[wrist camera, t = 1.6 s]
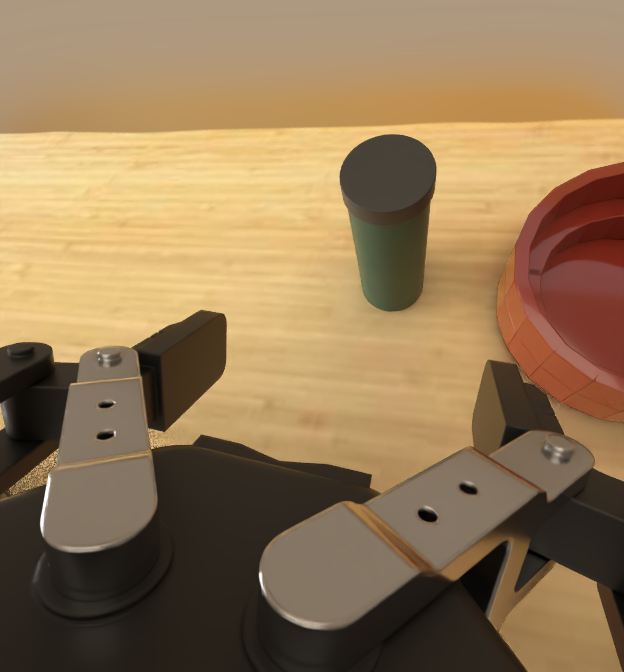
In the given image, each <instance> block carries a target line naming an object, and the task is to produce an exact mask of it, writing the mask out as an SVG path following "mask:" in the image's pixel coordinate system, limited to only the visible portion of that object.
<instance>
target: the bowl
mask: <svg viewBox="0 0 624 672" xmlns="http://www.w3.org/2000/svg"><path fill="white" fill-rule="evenodd" d="M497 319H498V322H499V325H500V328H501V331H502V334H503V338H504V341H505V344H506V347H507V348H508V350H509V351H510V353H511V354H512V355H513V357H514V358H515V359H516V361H517V362H518V364H519V365H520V366H521V368H522V369H523V371H524V372H525V373H526V375H527V376H528V377H529V378H530V379H531V380H533V381H534V382H535V383H536V384H538V385H539V386H540V387H542V388H543V389H544V390H545V391H547V392H548V393H549V394H551V395H552V396H553V397H554V398H556V399H557V400H558V401H560V402H562V403H563V404H565V405H568V406H570V407H573V408H575V409H577V410H580V411H582V412H585V413H587V414H589V415H592V416H594V417H597V418H599V419H602V420H607V421H615V422H623V423H624V162H622V163H618V164H613V165H609V166H604V167H600V168H595V169H591V170H588V171H586V172H584V173H582V174H580V175H579V176H577V177H575V178H573V179H571V180H569V181H567V182H565V183H563V184H561V185H560V186H558V187H556V188H554V189H553V190H552V191H551V192H550V193H549V194H548V195H547V196H546V197H545V198H544V199H543V200H542V201H541V202H540V203H539V204H538V205H537V206H536V207H535V208H534V209H533V210H532V211H531V212H530V214H529V215H528V218H527V220H526V222H525V224H524V226H523V229H522V231H521V233H520V235H519V238H518V240H517V242H516V244H515V247H514V249H513V251H512V253H511V256H510V258H509V260H508V263H507V265H506V267H505V270H504V272H503V274H502V276H501V279H500V281H499V283H498V297H497Z"/></svg>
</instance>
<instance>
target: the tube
mask: <svg viewBox="0 0 624 672" xmlns="http://www.w3.org/2000/svg"><path fill="white" fill-rule="evenodd" d="M435 182H436V162H435V159H434V157H433V155H432V153H431V152H430V150H429V149H428V148H427V147H426V146H425V145H424V144H422V143H421V142H419V141H418V140H416V139H414V138H411V137H408V136H404V135H395V134H391V135H382V136H377V137H374V138H371V139H369V140H366V141H364V142H363V143H361V144H359V145H358V146H357V147H355V148H354V149H353V150H352V151H351V152H350V153H349V154H348V156H347V157H346V159H345V160H344V162H343V165H342V167H341V171H340V185H341V190H342V195H343V200H344V203H345V205H346V207H347V208H348V212H349V217H350V223H351V228H352V233H353V239H354V244H355V249H356V255H357V260H358V266H359V271H360V276H361V282H362V287H363V292H364V295H365V297H366V298H367V300H368V301H369V302H370V303H371V304H372V305H374V306H375V307H377V308H379V309H382V310H386V311H398V310H402V309H405V308H407V307H409V306H410V305H412V304H413V303H414V302H415V301H416V300H417V299H418V297H419V296H420V294H421V291H422V287H423V278H424V267H425V256H426V245H427V235H428V224H429V213H430V202H431V199H432V197H433V194H434V190H435Z"/></svg>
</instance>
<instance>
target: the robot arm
mask: <svg viewBox="0 0 624 672" xmlns="http://www.w3.org/2000/svg"><path fill="white" fill-rule="evenodd" d="M226 332H227V322H226V317H225V315H224V314H222V313H216V312H211V311H205V310H200V311H198V312H196V313H195V314H193V315H191V316H190V317H188V318H187V319H185V320H183V321H182V322H179V323H176V324H172V325H169V326H167V327H165V328H164V329H162V330H160V331H159V333H155V334H154V335H152V336H151V337H150V338H147V339H145V340H143V341H142V342H140V343H138V344H137V345H135V346H133V347H132V348H129V347H124V346H106V347H100V348H96V349H93V350H90V351H88V352H86V353H84V354H83V355H82V356H81V358H80V363H61V362H54V357H53V351H52V347H51V346H49V345H47V344H44V343H37V342H22V343H16V344H12V345H8V346H5V347H2V348H0V405H1V409H2V414H3V419H4V424H5V428H4V429H2V430H1V431H0V495H2V494H3V493H4V492H5V491H6V490H8V489H9V488H10V487H11V486H13V485H14V484H15V483H16V482H17V481H19V480H20V479H21V478H22V477H24V476H25V475H26V474H27V473H29V472H30V471H31V470H32V469H33V468H35V467H36V466H37V465H38V464H40V463H41V462H42V461H43V460H44V459H46V458H47V457H48V456H49V455H51V454H52V453H53V452H54V451H55V450H57V449H58V448H59V450H58V456H57V462H56V466H55V467H52V468H51V469H50V472H49V476H48V481H47V484H46V485H43V486H40V487H37V488H34V489H31V490H28V491H25V492H22V493H19V494H16V495H13V496H10V497H7V498H4V499H1V500H0V672H528V671H527V670H526V668H525V667H524V666H523V664H522V663H521V662H520V661H519V659H518V658H517V657H516V655H515V654H514V653H513V651H512V650H511V649H510V647H509V646H508V645H507V643H506V642H505V641H504V639H503V638H502V637H501V635H500V634H499V633H498V631H499V629H500V627H501V625H502V624H503V622H504V620H505V618H506V617H507V615H508V614H509V613H510V611H511V610H512V609H513V608H514V607H515V606H516V605H517V604H518V603H519V602H520V601H521V600H522V599H523V598H524V597H525V596H526V595H527V594H528V593H529V592H530V591H531V589H532V588H533V587H534V586H535V585H536V584H537V583H538V582H539V581H540V580H541V579H542V578H543V577H544V576H545V575H546V574H547V573H548V572H549V571H550V570H551V569H552V568H553V567H554V565H555V563H556V562H557V563H559V564H561V565H563V566H565V567H567V568H569V569H571V570H573V571H575V572H577V573H579V574H581V575H583V576H585V577H588V578H590V579H592V580H594V581H596V582H597V588H598V592H599V595H600V598H601V602H602V605H603V608H604V612H605V615H606V618H607V622H608V625H609V628H610V632H611V635H612V638H613V641H614V645H615V648H616V651H617V655H618V658H619V661H620V665H621V668H622V671H623V672H624V482H623V481H621V480H618V479H616V478H613V477H610V476H608V475H606V474H603V473H601V472H599V471H597V470H595V469H594V468H593V466H594V463H595V459H594V456H593V455H592V453H591V452H590V451H589V450H588V449H587V448H586V447H585V446H583V445H582V444H581V443H579V442H578V441H576V440H574V439H572V438H570V437H568V436H565V435H564V432H563V430H562V428H561V426H560V424H559V422H558V420H557V417H556V416H555V413H554V411H553V409H552V407H551V405H550V402H549V400H548V398H547V396H546V395H545V394H544V393H543V392H542V391H541V390H539V389H538V388H537V387H536V386H535V385H532V384H527V383H523V380H522V378H521V375H520V373H519V370H518V368H517V365H516V364H510V363H504V362H498V361H493V360H488V361H487V363H486V365H485V368H484V372H483V376H482V380H481V384H480V388H479V392H478V396H477V400H476V404H475V408H474V413H473V419H472V434H473V442H474V447H471V446H469V447H466V448H464V449H462V450H460V451H458V452H456V453H454V454H453V455H451V456H449V457H447V458H445V459H444V460H442V461H440V462H438V463H436V464H434V465H433V466H431V467H429V468H427V469H425V470H424V471H422V472H420V473H418V474H416V475H415V476H413V477H411V478H409V479H407V480H405V481H404V482H402V483H400V484H398V485H396V486H395V487H393V488H391V489H389V490H387V491H385V492H384V493H382V494H381V493H379V492H377V491H375V490H373V489H371V488H370V483H371V477H372V475H371V474H367V473H362V472H358V471H354V470H350V469H345V468H341V467H337V466H333V465H328V464H316V463H300V462H285V461H279V460H276V459H273V458H271V457H269V456H267V455H264V454H262V453H260V452H258V451H256V450H253V449H251V448H249V447H247V446H244V445H242V444H239V443H235V442H231V441H227V440H222V439H218V438H214V437H210V436H205V435H201V436H200V437H199V438H198V439H197V440H196V441H195V442H194V443H193V445H172V446H164V447H158V448H154V449H151V448H150V440H149V432H148V428H150V429H154V430H158V431H162V432H165V431H166V430H167V429H168V428H169V427H170V426H171V425H172V424H173V423H174V422H175V421H176V420H177V419H178V418H179V417H180V416H181V415H182V414H183V413H185V412H186V411H187V410H188V409H189V408H190V407H191V406H192V405H193V404H194V403H195V402H196V401H197V400H198V399H199V398H200V397H201V396H202V395H203V394H204V393H205V392H206V391H207V390H208V389H209V388H210V387H211V386H212V385H213V384H214V383H215V382H216V381H217V380H218V379H219V378H220V377H221V376H222V374H223V372H224V369H225V365H226Z"/></svg>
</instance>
